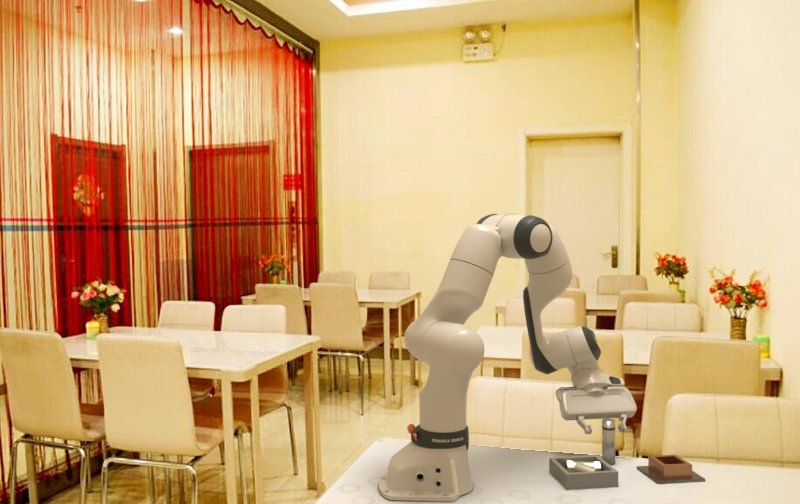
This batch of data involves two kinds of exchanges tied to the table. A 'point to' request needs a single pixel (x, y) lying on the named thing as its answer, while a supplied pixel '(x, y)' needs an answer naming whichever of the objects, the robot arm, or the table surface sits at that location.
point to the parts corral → (583, 473)
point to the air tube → (608, 441)
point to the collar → (669, 470)
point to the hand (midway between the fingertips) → (606, 432)
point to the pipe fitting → (582, 466)
